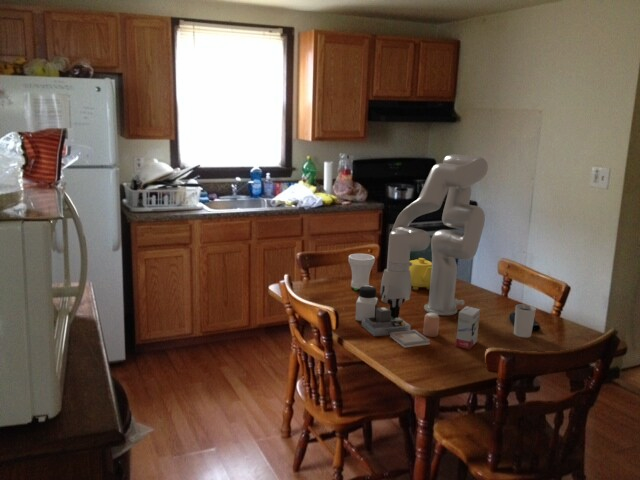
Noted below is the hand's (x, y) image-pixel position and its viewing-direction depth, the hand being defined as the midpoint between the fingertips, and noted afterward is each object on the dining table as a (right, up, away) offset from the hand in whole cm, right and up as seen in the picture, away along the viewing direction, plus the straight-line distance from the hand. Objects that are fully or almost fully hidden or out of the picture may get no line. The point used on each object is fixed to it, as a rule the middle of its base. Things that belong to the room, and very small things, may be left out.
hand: (394, 316), depth 203 cm
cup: (-9, +6, +44) cm, 46 cm away
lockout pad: (+4, -7, -9) cm, 12 cm away
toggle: (-4, -2, -1) cm, 4 cm away
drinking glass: (+45, -6, 0) cm, 46 cm away
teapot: (+18, +6, +50) cm, 53 cm away
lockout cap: (+12, -6, -3) cm, 14 cm away
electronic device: (+49, -5, +11) cm, 50 cm away
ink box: (+23, -8, -10) cm, 26 cm away
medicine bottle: (-9, -2, +10) cm, 13 cm away
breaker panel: (-3, -4, 0) cm, 5 cm away
